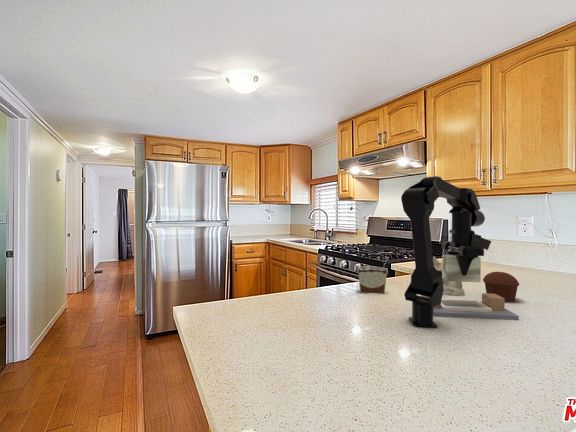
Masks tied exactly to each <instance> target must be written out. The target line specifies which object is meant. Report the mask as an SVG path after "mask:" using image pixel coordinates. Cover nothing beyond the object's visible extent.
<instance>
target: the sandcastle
mask: <svg viewBox="0 0 576 432" xmlns="http://www.w3.org/2000/svg"><path fill="white" fill-rule="evenodd" d="M433 263H434V267H435V269H436V270H439V271H441V272H442V261H441V262H440V261H439V260H438V259H437V257H436V256H433ZM442 280H443V287H444V290H443V295H442V296H451V297H464V296H466V295H465V289H464V288H463V282H454V281H446V280H445V279H443V278H442Z"/></svg>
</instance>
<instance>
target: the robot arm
mask: <svg viewBox="0 0 576 432" xmlns="http://www.w3.org/2000/svg"><path fill="white" fill-rule="evenodd" d="M439 197H441V198H443V199H445V200H446V203H447V204H448V205H449V206H451V209H450V210H449V211H448V213H449V214H451V229H449V233H450V234H451V241H450V240H446V241H445V240H444V241H443V242H442V243H441V250H445V253H446V255H456V258H457V261H458V264H459V267H460V270H461V273H462V275H463V276H466V275H467V273H468V270H469V267H470V264H471V262H472V260H473V259H475V258H476V257H484V256H485V250H486V251H489V248H490V245H491V244H492V240H490V239H486V238H484V237H482V236H481V235H479V234H476V232H475V231H474V230H472V227H480V226H482V225H483V224H484V222H485V219H486V217H485V215H484V213H483V212H482V211H481V206H480V202H479V200H478V196H477V193H476V192H475V191H474V190H473V188H469V187H458V186H456V185H454V184H452V183H450V182H448V181H446V180H444V179H442V177H441V176H438V175H437V176H436V175H435V176H426V177H423V178H421V179H420V180H419V181H418V182H417V183H415V184H413V185H411V186H409V187H408V188H406V189H405V190H404V191H403V193H402V194H401V199H400V200H401V205H402V207H403V208H402V209H403V212H404V213H405V215H406V216H407V217H408V218H409V220H410V229H411V236H412V245H413V246H412V247H413V256H414V266H415V268H414V269H413V272H412V274H411V275H410V283H409V285H408V287H407V288H406V290H405V292H404V298H405V301H408V302H411V317H408V321H409V322H410V323H411V325H412V326H413V327H420V328H421V327H422V328H439V327H438V324H437V323H436V322H435V320H434V316H433V307H434V306H437V305H440V304H441V300H442V299H443V296H444V295H443V290H444V287H443V280H442V272H441V271H439V270H436V269H435V267H434V263H433V257H434V255H433V254H434V253H433V245H432V235H431V225H430V223H431V222H430V218H431V215H432V213H433V211H434V209H435V202H436V201H437V200H438V198H439ZM422 296H427V297H430V298H426V297H422Z"/></svg>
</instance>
